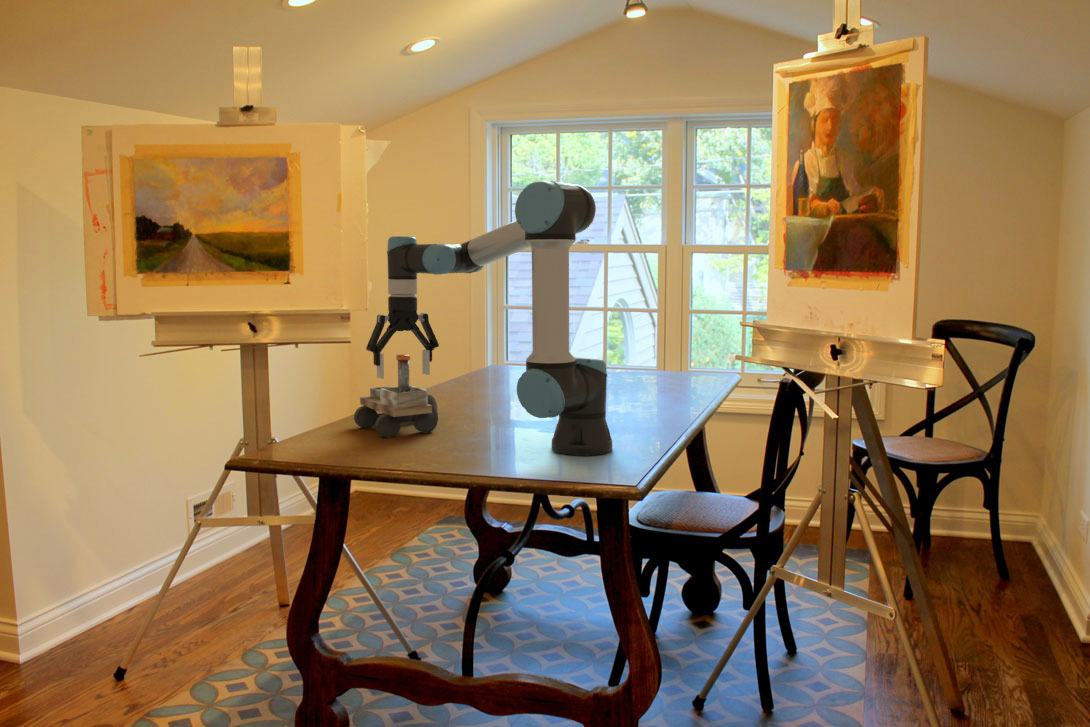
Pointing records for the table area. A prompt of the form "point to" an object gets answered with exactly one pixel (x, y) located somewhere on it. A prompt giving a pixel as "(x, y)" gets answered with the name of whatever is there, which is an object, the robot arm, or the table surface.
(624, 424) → the table surface
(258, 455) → the table surface
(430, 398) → the stone
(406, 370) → the pin
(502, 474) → the table surface
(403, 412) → the cart
